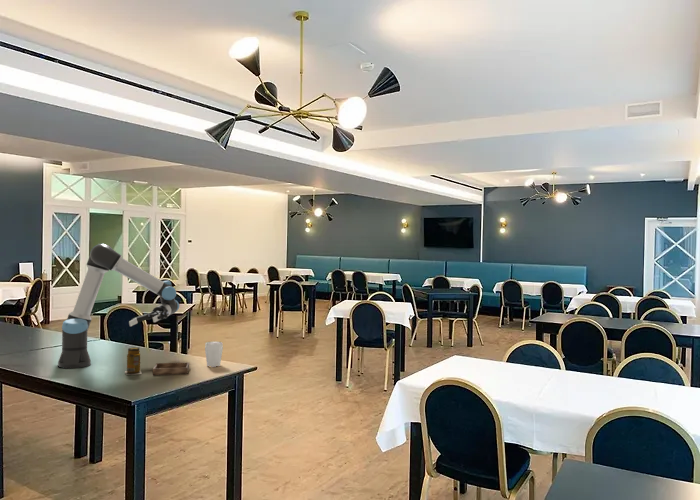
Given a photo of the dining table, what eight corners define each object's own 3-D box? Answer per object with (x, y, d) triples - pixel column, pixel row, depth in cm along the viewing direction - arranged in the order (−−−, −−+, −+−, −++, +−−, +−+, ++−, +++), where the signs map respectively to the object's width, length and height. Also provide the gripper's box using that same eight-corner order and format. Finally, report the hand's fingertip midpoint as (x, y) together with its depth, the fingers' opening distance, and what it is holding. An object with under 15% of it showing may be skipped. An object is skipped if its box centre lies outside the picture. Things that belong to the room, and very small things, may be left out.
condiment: (140, 370, 275) (140, 346, 275) (141, 374, 268) (142, 349, 268) (124, 371, 272) (124, 347, 272) (125, 375, 265) (126, 350, 265)
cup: (219, 367, 284) (220, 344, 284) (202, 367, 284) (202, 344, 284) (224, 364, 293) (224, 341, 293) (207, 363, 293) (207, 341, 293)
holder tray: (152, 375, 266) (152, 368, 266) (156, 369, 279) (156, 363, 278) (187, 374, 269) (187, 367, 269) (189, 368, 282) (189, 362, 282)
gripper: (183, 315, 305) (165, 325, 284) (142, 321, 309) (121, 332, 288) (180, 301, 304) (162, 311, 283) (139, 308, 308) (118, 318, 287)
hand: (141, 321), depth 286 cm, fingers open, 13 cm apart
